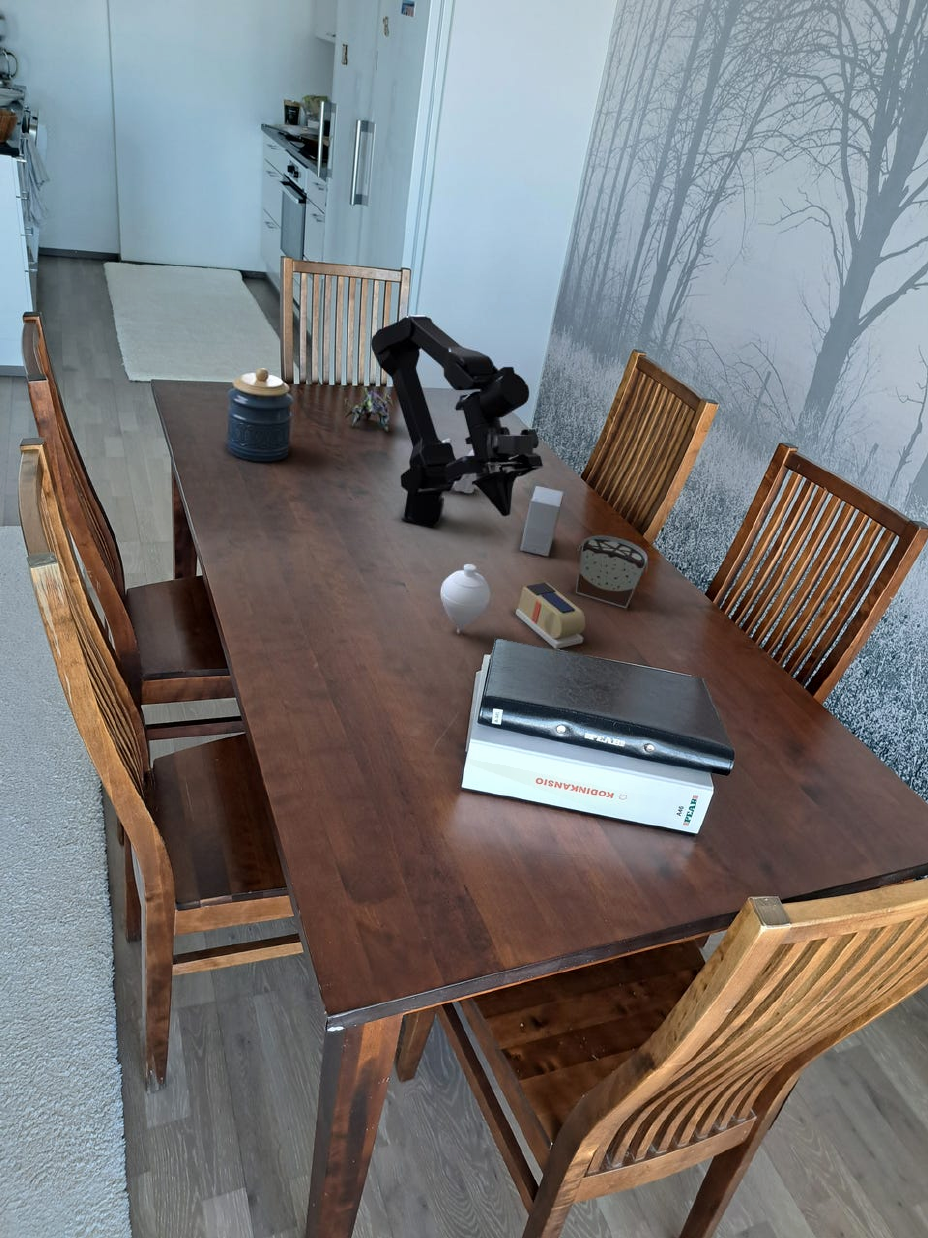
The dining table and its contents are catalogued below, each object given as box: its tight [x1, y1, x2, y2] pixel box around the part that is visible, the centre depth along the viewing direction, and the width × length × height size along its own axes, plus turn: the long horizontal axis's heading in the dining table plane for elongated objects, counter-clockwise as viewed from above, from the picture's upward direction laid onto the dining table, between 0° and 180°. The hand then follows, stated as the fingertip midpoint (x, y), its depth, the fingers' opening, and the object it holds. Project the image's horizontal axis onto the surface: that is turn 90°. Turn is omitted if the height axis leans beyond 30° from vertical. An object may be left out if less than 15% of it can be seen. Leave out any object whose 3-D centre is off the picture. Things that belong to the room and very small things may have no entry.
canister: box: [226, 367, 294, 463], centre depth 186 cm, size 13×13×18 cm
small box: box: [519, 485, 565, 557], centre depth 171 cm, size 8×6×10 cm
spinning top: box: [440, 563, 491, 634], centre depth 139 cm, size 8×8×12 cm
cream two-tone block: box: [515, 582, 586, 650], centre depth 146 cm, size 6×6×11 cm
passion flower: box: [343, 387, 396, 432], centre depth 212 cm, size 11×11×12 cm
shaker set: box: [441, 438, 477, 494], centre depth 187 cm, size 12×4×11 cm, turn 104°
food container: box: [574, 535, 649, 610], centre depth 159 cm, size 12×6×10 cm, turn 71°
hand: (506, 515), depth 154 cm, fingers closed
